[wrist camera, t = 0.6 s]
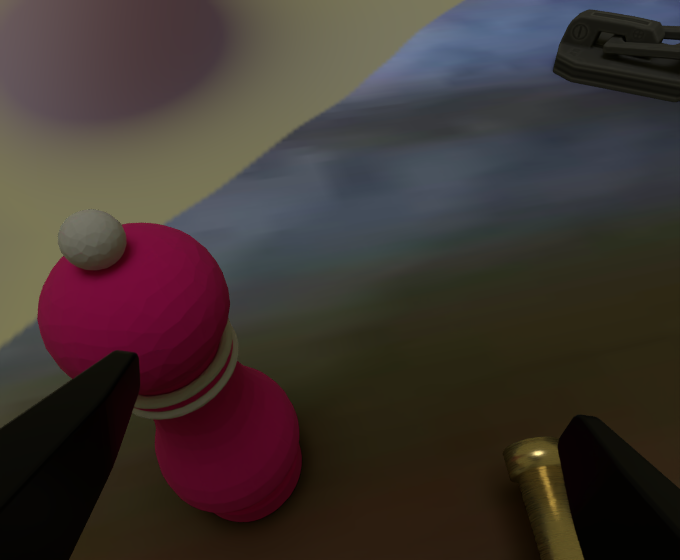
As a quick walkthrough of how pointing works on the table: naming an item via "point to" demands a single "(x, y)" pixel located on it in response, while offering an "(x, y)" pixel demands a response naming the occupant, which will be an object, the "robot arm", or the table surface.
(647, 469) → the robot arm
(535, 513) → the hinge pin
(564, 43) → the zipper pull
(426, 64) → the table surface
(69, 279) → the pepper mill
